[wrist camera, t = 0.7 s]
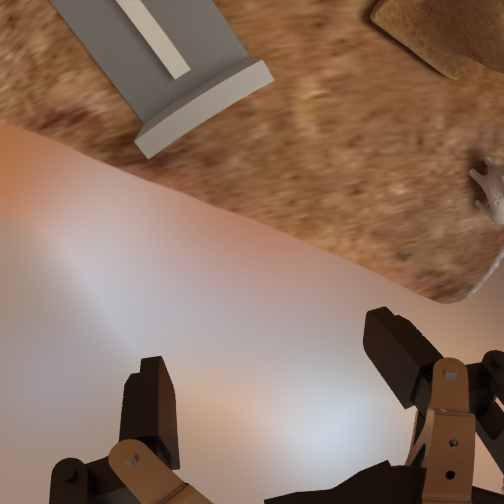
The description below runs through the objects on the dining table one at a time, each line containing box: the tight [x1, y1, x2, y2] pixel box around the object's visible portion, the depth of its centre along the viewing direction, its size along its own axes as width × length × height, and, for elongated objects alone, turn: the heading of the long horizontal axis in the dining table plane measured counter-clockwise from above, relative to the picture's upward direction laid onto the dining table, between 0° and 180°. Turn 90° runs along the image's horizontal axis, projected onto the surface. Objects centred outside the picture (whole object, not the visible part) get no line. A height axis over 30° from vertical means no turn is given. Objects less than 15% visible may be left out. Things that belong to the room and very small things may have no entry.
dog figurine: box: [469, 156, 504, 224], centre depth 36 cm, size 5×13×11 cm, turn 37°
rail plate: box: [49, 0, 274, 159], centre depth 21 cm, size 20×12×7 cm, turn 30°
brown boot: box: [370, 0, 504, 80], centre depth 20 cm, size 15×12×15 cm
